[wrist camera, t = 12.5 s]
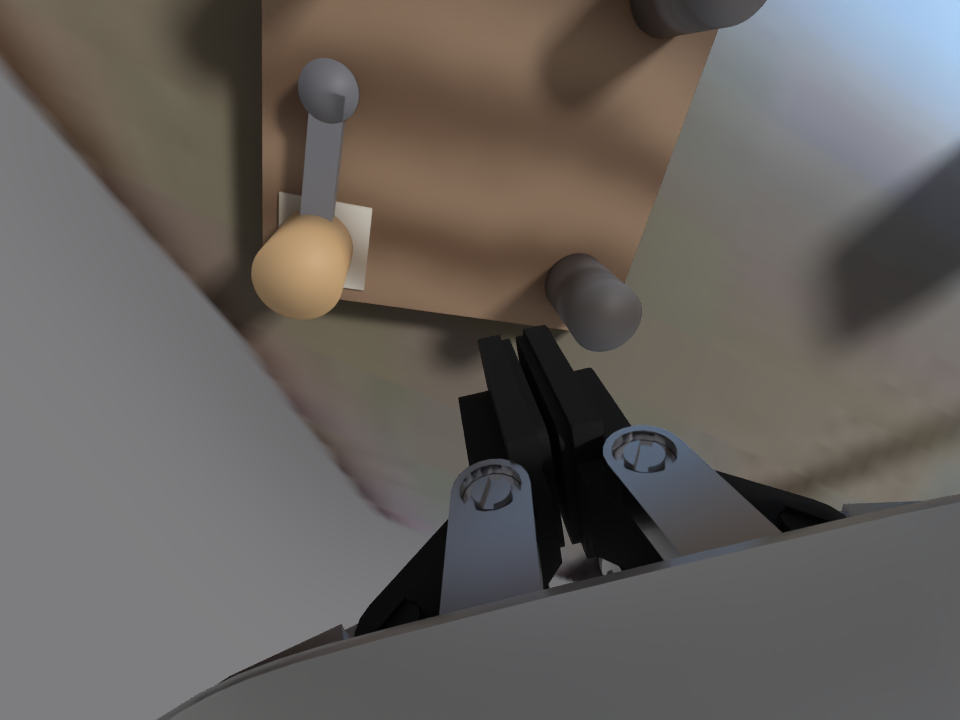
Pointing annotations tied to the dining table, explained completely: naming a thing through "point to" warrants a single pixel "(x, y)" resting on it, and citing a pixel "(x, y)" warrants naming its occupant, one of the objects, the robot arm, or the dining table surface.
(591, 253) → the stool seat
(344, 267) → the hinged leg
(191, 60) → the dining table surface
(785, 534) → the robot arm
